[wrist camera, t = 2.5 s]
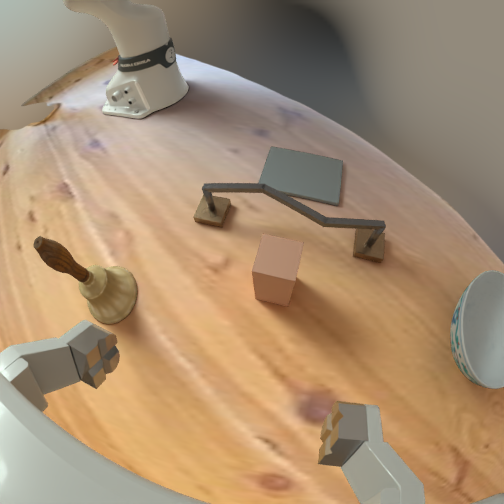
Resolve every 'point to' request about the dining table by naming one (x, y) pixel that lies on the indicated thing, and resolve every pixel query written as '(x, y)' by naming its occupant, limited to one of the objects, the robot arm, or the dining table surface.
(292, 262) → the brick block
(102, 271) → the hand bell
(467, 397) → the dining table surface
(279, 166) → the slate tile
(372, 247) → the zigzag wire
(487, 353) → the chinaware
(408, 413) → the dining table surface
